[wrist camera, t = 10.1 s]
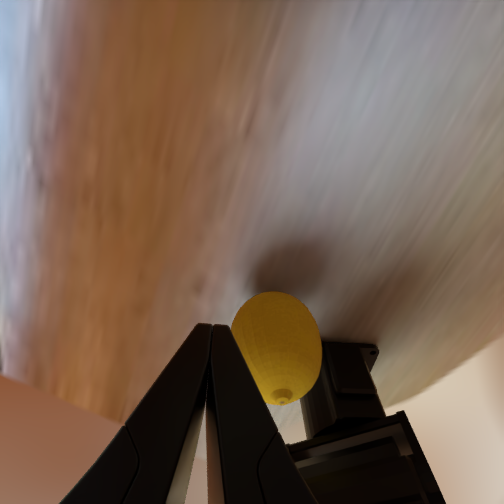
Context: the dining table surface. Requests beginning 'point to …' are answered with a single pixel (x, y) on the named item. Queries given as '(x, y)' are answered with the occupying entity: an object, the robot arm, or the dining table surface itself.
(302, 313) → the lemon
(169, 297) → the dining table surface
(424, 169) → the dining table surface
